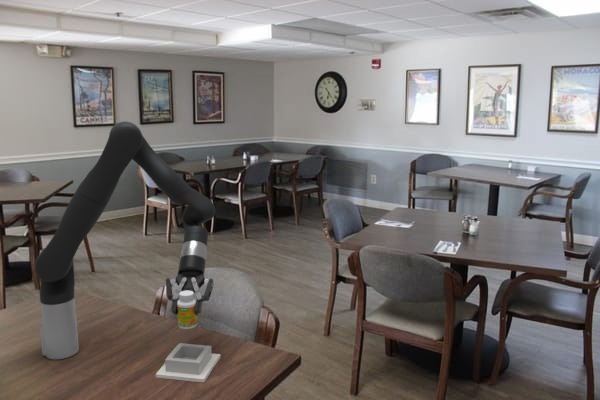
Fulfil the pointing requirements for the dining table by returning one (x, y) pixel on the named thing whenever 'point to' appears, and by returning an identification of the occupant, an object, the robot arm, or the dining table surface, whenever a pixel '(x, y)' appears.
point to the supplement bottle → (186, 310)
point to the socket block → (189, 363)
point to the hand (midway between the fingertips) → (185, 313)
